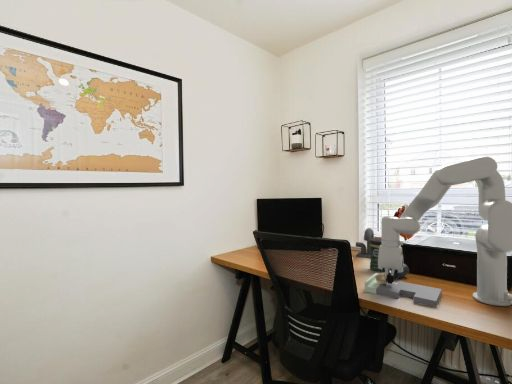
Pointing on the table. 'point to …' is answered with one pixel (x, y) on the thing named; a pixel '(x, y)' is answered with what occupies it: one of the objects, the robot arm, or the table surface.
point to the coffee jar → (375, 253)
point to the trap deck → (405, 291)
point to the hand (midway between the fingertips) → (390, 282)
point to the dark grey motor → (401, 274)
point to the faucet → (367, 237)
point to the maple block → (381, 278)
